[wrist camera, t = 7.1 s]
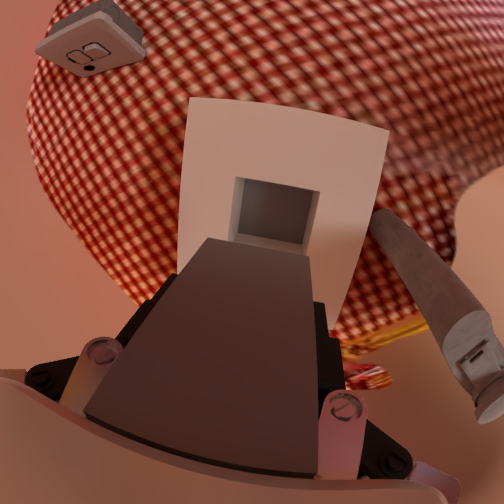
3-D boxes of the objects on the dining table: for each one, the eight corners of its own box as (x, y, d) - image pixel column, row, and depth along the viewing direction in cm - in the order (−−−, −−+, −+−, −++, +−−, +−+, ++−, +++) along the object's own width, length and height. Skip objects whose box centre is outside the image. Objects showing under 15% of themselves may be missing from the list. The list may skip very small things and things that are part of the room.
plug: (308, 247, 13) (317, 472, 4) (288, 322, 14) (269, 512, 5) (213, 229, 13) (82, 410, 4) (207, 306, 15) (128, 477, 6)
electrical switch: (84, 79, 23) (28, 67, 15) (89, 43, 22) (39, 25, 13) (149, 60, 22) (97, 32, 14) (154, 22, 21) (108, -13, 12)
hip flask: (458, 287, 27) (537, 408, 9) (436, 309, 29) (500, 439, 11) (382, 202, 25) (505, 331, 7) (356, 231, 27) (432, 394, 9)
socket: (369, 131, 22) (389, 130, 17) (327, 296, 30) (332, 330, 25) (212, 104, 24) (189, 97, 18) (196, 270, 31) (177, 299, 26)
